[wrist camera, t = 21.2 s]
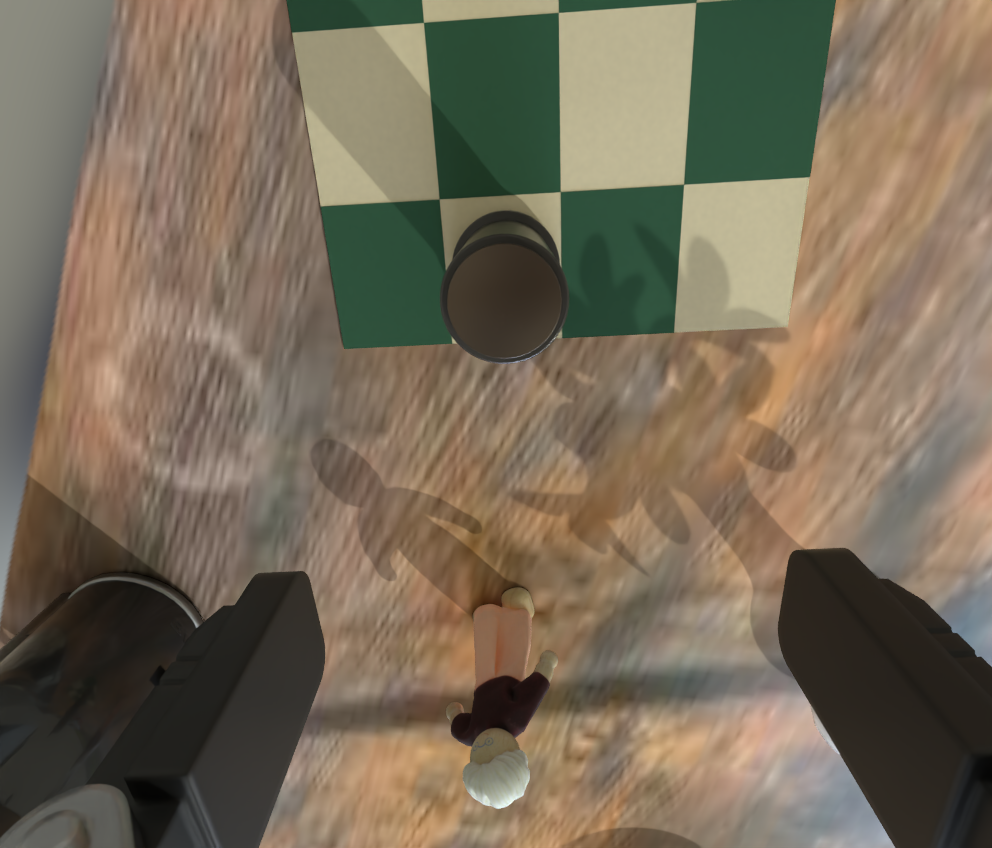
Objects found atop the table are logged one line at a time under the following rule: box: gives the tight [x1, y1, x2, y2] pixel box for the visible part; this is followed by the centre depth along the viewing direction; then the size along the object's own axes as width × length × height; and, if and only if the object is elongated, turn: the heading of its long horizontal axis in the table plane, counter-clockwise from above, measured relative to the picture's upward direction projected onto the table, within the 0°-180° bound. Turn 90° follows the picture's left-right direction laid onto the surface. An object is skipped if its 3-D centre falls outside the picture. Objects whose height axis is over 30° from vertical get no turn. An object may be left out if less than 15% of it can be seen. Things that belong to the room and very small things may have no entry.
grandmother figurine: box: [446, 587, 558, 809], centre depth 32 cm, size 8×4×13 cm, turn 138°
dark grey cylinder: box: [440, 210, 569, 364], centre depth 24 cm, size 5×5×10 cm
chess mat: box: [287, 0, 836, 349], centre depth 26 cm, size 24×22×1 cm
